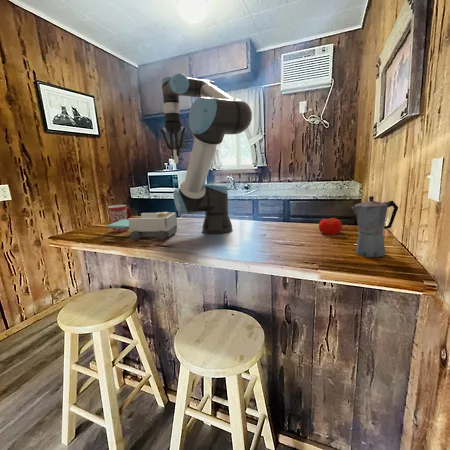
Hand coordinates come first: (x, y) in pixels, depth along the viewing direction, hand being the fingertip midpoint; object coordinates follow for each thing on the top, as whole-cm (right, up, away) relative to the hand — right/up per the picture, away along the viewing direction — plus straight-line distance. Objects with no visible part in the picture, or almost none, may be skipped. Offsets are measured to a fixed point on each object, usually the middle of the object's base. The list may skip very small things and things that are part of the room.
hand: (176, 163), depth 130 cm
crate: (-5, -31, -7) cm, 32 cm away
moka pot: (+75, -42, -41) cm, 95 cm away
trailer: (-9, -37, -6) cm, 38 cm away
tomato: (+73, -36, -14) cm, 82 cm away
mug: (-30, -35, +9) cm, 47 cm away
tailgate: (-19, -31, -6) cm, 37 cm away
